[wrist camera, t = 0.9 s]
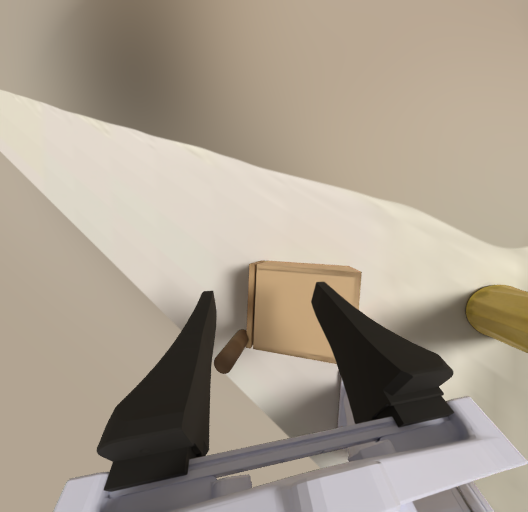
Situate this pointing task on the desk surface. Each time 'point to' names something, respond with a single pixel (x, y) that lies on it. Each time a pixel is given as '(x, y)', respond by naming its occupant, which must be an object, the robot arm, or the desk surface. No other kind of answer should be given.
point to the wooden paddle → (242, 337)
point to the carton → (297, 307)
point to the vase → (500, 314)
